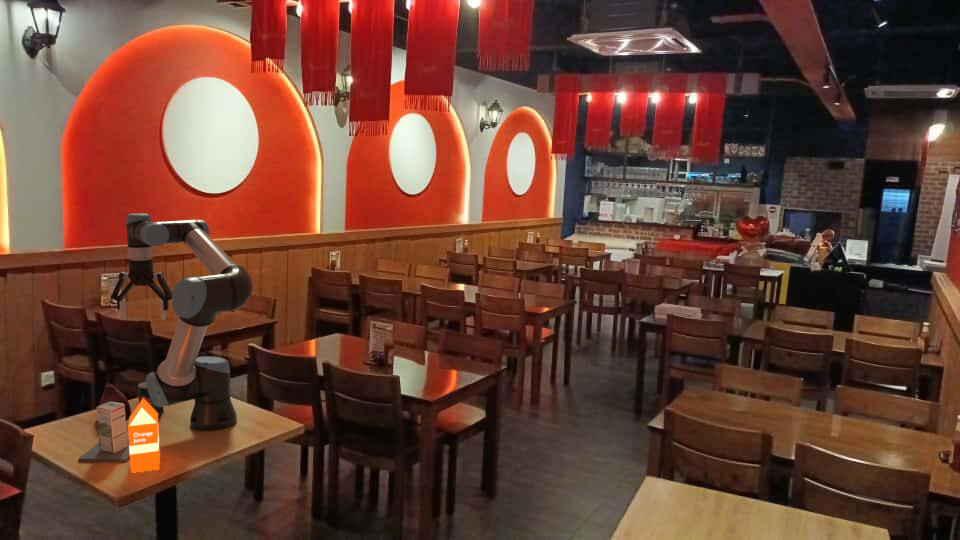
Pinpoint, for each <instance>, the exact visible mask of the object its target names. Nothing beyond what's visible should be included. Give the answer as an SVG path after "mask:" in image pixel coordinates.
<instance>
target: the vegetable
mask: <svg viewBox="0 0 960 540" xmlns="http://www.w3.org/2000/svg"><path fill="white" fill-rule="evenodd" d="M107 402H116V403H122V404H124V405H125V419H126V418H127V419H130V416H131V415H132V408H131V405H130V402H129V400H128V398H127V397H126V395H125V394H124V393H123V392H122V391H120V390H119V389H117V387H115V385H113V384H112V383H108V382H106V385H105V388H104V390H103V393H102V395H101V397H100V400H99V403H98V406H100V405H102V404H104V403H107Z"/></svg>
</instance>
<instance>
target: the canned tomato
mask: <svg viewBox="0 0 960 540" xmlns="http://www.w3.org/2000/svg"><path fill="white" fill-rule="evenodd" d="M137 393H138V394H137V395H138V404H139V403H140V402H141V400H142V399H143V398H144V399H145V400H146V401H147V402H148V403H149V404H150V405H151V406H152V408H153V409H154V410H155V411H156V412H157V413H158V416H160V414H161V415H162V414H164V413H165V412H164V410H165V409H164V406H163V407H157V406H155V405H154V403H153V402H152V400H151V398H150V396H149V393H148V389H147V383H146V381H143V382H140V383H138V384H137Z"/></svg>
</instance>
